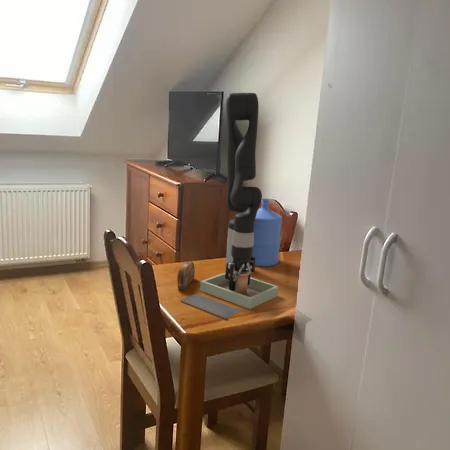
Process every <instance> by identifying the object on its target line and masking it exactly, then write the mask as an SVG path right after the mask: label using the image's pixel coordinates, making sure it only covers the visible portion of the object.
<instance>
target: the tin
mask: <svg viewBox="0 0 450 450" xmlns="http://www.w3.org/2000/svg"><path fill="white" fill-rule="evenodd" d="M195 273H196V271H195V264H194V262H193V261H190V262H189V261H185V262H184V264H182V266H181V267H180V268H179V269H178V272H177V275H176V276H177V289H178V290H181V291H186V289H187V287H188V286H189V284H190V283H191V282H192V281H194V280H195Z"/></svg>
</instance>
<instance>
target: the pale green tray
mask: <svg viewBox="0 0 450 450" xmlns="http://www.w3.org/2000/svg"><path fill="white" fill-rule="evenodd" d="M225 273H226V271H225V272H223V273H220V274H216V275H215V276H214V275H213V276H212V277H209V278H206V279H205V278H204V279H203V280H200V283H199V286H200V287H199V291H200V292H202V293H206V294H209V295H211V296H213V297H215V298H219V299H222V300H225V301H228V302H230V303H233V304H235V305H238V306H241V307H243V308H246V309H249V310H251V309H253V308H256V307H257V306H260V305H261V304H263V303H266V302H268V301H270V300H272V299H274V298H276V297H278V296H279V290H280V289H279V288H280V286H278V285H276V284H272V283H270V282H266V281H263V280H261V279H256V278H254V277H252V276H250V284H249V285H247V294H246V295H242V294H239V293H236V292H233V291H231V290H229V280H227V279H225ZM229 275H230V274H229ZM229 275H228V276H229Z"/></svg>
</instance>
